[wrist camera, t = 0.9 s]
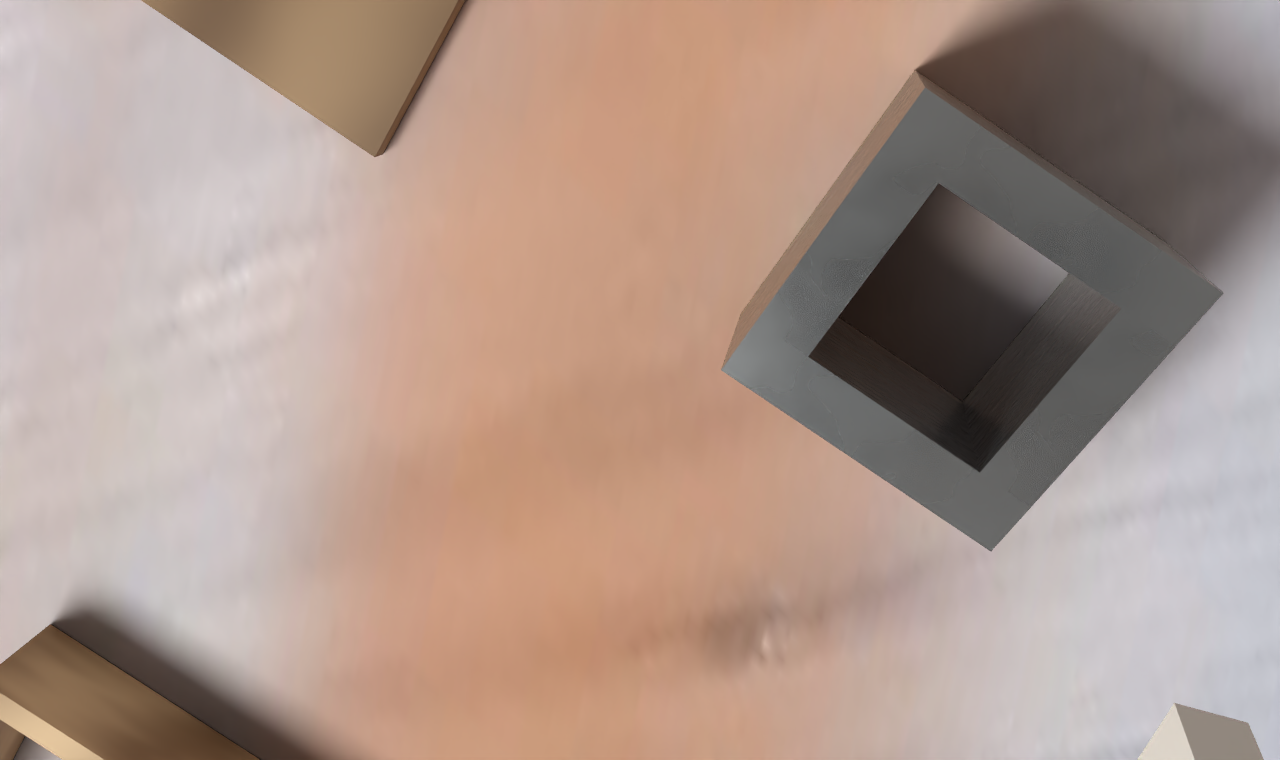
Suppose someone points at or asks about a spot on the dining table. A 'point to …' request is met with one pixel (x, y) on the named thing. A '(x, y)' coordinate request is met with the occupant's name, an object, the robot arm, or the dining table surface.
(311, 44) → the keeper
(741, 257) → the dining table surface
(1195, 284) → the grey square hollow block
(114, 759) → the tray rim
